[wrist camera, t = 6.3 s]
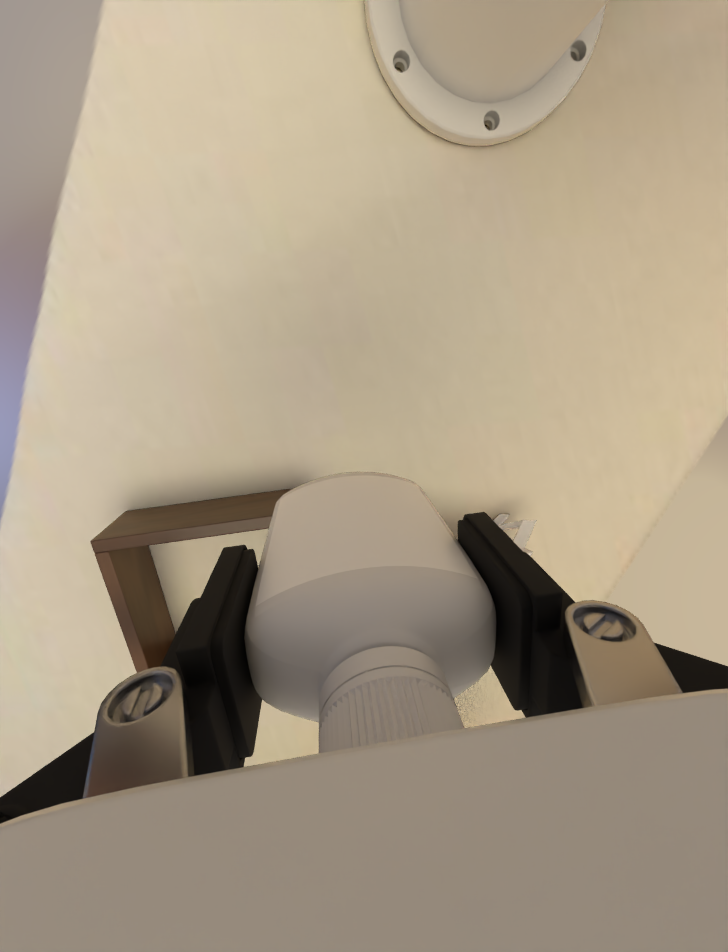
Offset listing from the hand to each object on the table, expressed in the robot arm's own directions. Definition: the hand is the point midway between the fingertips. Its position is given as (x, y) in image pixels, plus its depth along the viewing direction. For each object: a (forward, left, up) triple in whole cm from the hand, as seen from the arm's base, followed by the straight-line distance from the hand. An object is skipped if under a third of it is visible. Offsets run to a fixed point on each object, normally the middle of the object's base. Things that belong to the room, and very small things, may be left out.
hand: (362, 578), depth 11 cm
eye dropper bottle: (0, 0, -5) cm, 5 cm away
